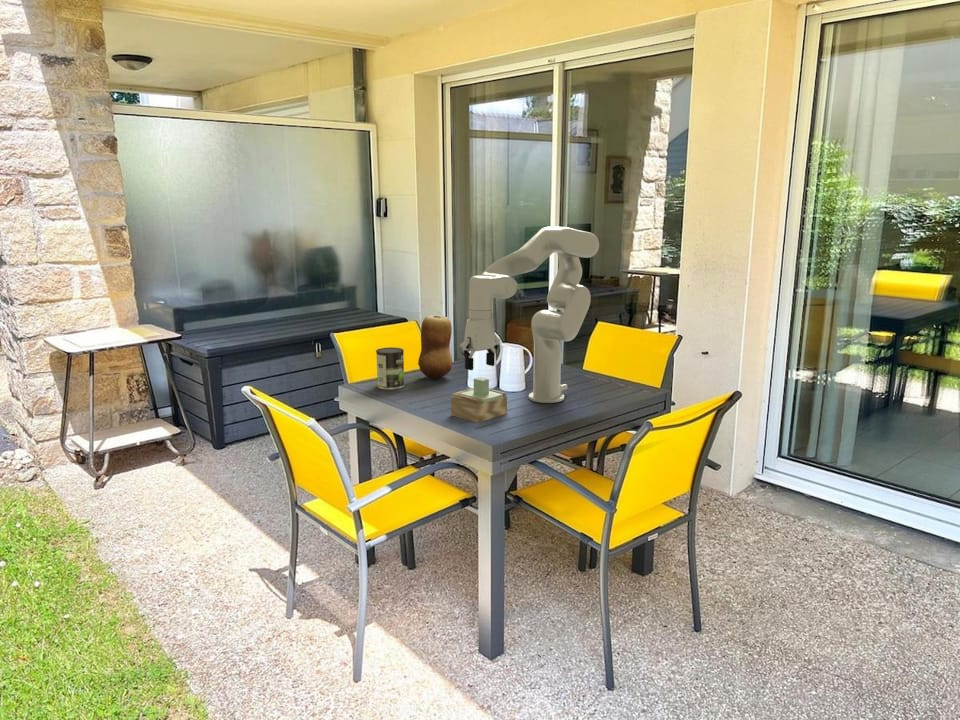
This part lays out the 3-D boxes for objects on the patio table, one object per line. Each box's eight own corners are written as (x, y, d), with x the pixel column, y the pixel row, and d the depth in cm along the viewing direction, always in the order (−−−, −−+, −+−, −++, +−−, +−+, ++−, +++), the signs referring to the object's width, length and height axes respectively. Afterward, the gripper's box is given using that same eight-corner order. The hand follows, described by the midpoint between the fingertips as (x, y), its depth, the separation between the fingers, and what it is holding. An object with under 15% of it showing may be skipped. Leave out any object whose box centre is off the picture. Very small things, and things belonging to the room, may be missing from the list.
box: (481, 406, 242) (481, 385, 240) (506, 413, 234) (507, 392, 232) (451, 414, 232) (450, 393, 230) (477, 422, 224) (477, 401, 222)
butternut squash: (451, 382, 273) (451, 318, 267) (417, 382, 273) (415, 318, 267) (453, 373, 286) (452, 312, 281) (420, 374, 286) (418, 313, 281)
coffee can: (408, 383, 271) (407, 347, 268) (398, 390, 262) (397, 353, 258) (383, 382, 274) (382, 346, 271) (372, 388, 264) (371, 351, 261)
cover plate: (478, 391, 238) (478, 373, 236) (502, 397, 230) (503, 379, 229) (459, 396, 231) (459, 378, 230) (483, 403, 224) (483, 384, 222)
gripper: (491, 311, 233) (489, 361, 237) (452, 316, 221) (452, 369, 225) (507, 313, 228) (506, 365, 232) (469, 318, 216) (468, 373, 219)
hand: (479, 367), depth 228 cm, fingers open, 9 cm apart
